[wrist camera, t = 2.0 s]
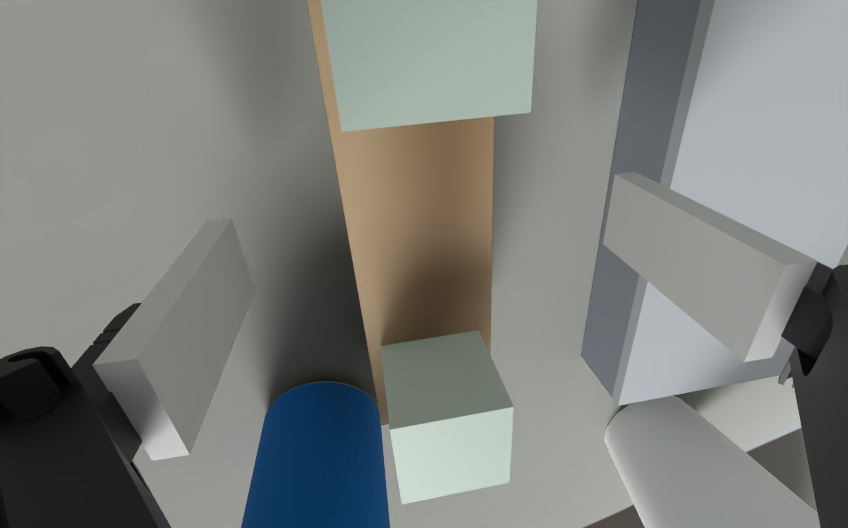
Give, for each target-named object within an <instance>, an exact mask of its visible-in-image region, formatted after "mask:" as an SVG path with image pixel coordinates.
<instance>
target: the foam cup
mask: <svg viewBox="0 0 848 528" xmlns="http://www.w3.org/2000/svg"><path fill="white" fill-rule="evenodd" d="M604 441H605V443H606V445H607V446H608V450H609V453H610V455H611V457H612V459H613V461H614V463H615V465H616V467H617V470H618V472H619V474H620V476H621V478H622V480H623V482H624V484H625V487H626V489H627V491H628V493H629V495H630V497H631V499H632V501H633V503H634V506H635V508H636V510H637V512H638V514H639V516H640V518H641V520H642V523H643V525H644V527H645V528H821V527H820V522H819V517H818V513H817V512H815V511H814V510H813V509H812V508H811V507H810V506H808V505H807V504H806V503H805V502H804V501H802V500H801V499H800V498H799V497H798V496H797V495H795V494H794V493H793V492H792V491H790V490H789V489H788V488H787V487H786V486H785V485H783V484H782V483H781V482H780V481H779V480H777V479H776V478H775V477H774V476H772V474H770V473H769V472H768V471H767V470H766V469H764V468H763V467H762V466H761V465H759V464H758V463H757V462H756V461H755V460H753V459H752V458H751V457H750V456H749V455H747V453H745V452H744V451H743V450H742V449H741V448H739V447H738V446H737V445H736V444H735V443H733V442H732V441H731V440H730V439H729V438H727V437H726V436H725V435H724V434H723V433H722V432H720V431H719V430H718V429H717V428H716V427H714V426H713V425H712V424H711V423H710V422H708V421H707V420H706V419H705V418H704V417H702V416H701V415H700V414H699V413H698V412H697V411H695V410H694V409H693V408H692V407H691V406H689V405H688V404H685V403H684V402H683V400H682V399H681V398H678V397H676V396H667V397H662V398H657V399H651V400H646V401H641V402H636V403H630V404H629V405H627V406H626V407H625V408H624V409H622V410H621V411H620V412H618V413H617V414H616V415H615V416H614V417H613V419H612V420H611V422H610V423H609V425H608V426H607V427H606V430H605V439H604Z"/></svg>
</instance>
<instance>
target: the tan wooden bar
mask: <svg viewBox="0 0 848 528" xmlns="http://www.w3.org/2000/svg"><path fill="white" fill-rule="evenodd" d="M307 4H308V10H309V16H310V21H311V27H312V33H313V38H314V44H315V50H316V55H317V61H318V67H319V72H320V78H321V84H322V90H323V95H324V101H325V107H326V112H327V118H328V124H329V129H330V135H331V141H332V146H333V152H334V158H335V164H336V169H337V175H338V181H339V186H340V192H341V198H342V203H343V209H344V215H345V221H346V226H347V232H348V238H349V243H350V249H351V255H352V260H353V266H354V272H355V277H356V283H357V289H358V295H359V300H360V306H361V312H362V317H363V323H364V329H365V334H366V340H367V346H368V352H369V357H370V363H371V369H372V374H373V380H374V386H375V391H376V397H377V403H378V408H379V414H380V420H381V425H385V424H389V418H388V409H387V400H386V391H385V382H384V373H383V364H382V355H381V346H384V345H390V344H396V343H402V342H409V341H415V340H421V339H427V338H433V337H440V336H446V335H452V334H458V333H464V332H471V331H477V330H479V332H480V334H481V336H482V338H483V341H484V343H485V345H486V347H487V349H488V352H489V354H490V341H491V280H492V219H493V159H494V116H492V117H482V118H473V119H463V120H453V121H443V122H434V123H424V124H414V125H404V126H395V127H385V128H375V129H365V130H355V131H346V132H342V131H341V125H340V119H339V113H338V106H337V100H336V94H335V88H334V82H333V76H332V69H331V63H330V57H329V51H328V45H327V39H326V32H325V26H324V20H323V14H322V8H321V1H320V0H307Z"/></svg>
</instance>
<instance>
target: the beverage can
mask: <svg viewBox="0 0 848 528" xmlns="http://www.w3.org/2000/svg"><path fill="white" fill-rule="evenodd" d="M241 528H390V523H389V512H388V501H387V489H386V478H385V467H384V456H383V444H382V433H381V422H380V414H379V410H378V407H377V405H376V403H375V402H374V400H373V399H372V398H371V397H370V396H369V395H368V394H367V393H365V392H364V391H362V390H360V389H359V388H357V387H354V386H351V385H349V384H345V383H340V382H330V381H323V382H313V383H308V384H304V385H301V386H298V387H295V388H293V389H291V390H289V391H287V392H285V393H284V394H282V395H281V396H280V397H278V398H277V399H276V400H275V401H274V402H273V403H272V405H271V406H270V408H269V409H268V411H267V413H266V416H265V419H264V424H263V429H262V433H261V438H260V442H259V447H258V452H257V456H256V461H255V466H254V470H253V475H252V480H251V484H250V489H249V494H248V498H247V503H246V508H245V512H244V517H243V522H242V526H241Z"/></svg>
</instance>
